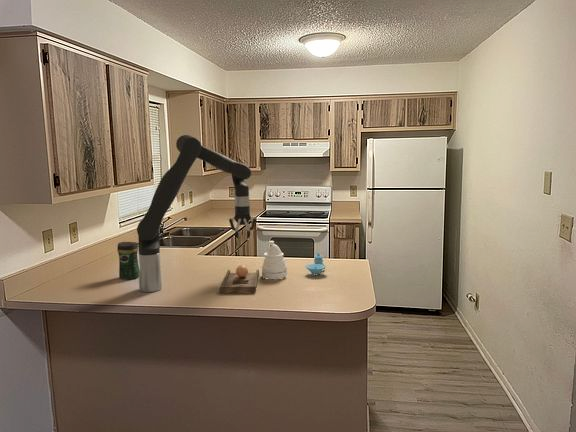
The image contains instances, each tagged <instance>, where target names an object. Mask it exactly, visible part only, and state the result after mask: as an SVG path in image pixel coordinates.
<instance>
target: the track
mask: <svg viewBox="0 0 576 432" xmlns="http://www.w3.org/2000/svg"><path fill="white" fill-rule="evenodd" d="M258 278H260V270H259V269H256V271H255V272H248V274H247V275H246V276H245V277H239V276H237V274H236V272H231V270H230V269H228V270H227V271H226V273H225V275H224V277H223V279H222V281H221V284H220V286H219V293H220V294H239V293H238V292H257V289H258V288H257V287H258V284H259V283H258V282H259V279H258ZM245 282H248V283H247V284H246V283H245ZM257 283H258V284H257ZM256 288H257V289H256Z"/></svg>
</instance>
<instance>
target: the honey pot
mask: <svg viewBox="0 0 576 432" xmlns="http://www.w3.org/2000/svg"><path fill="white" fill-rule="evenodd" d="M268 244H269V245H270V247H269V248H268V249H267V252H264V254H263V256H264V259H263V263H262V266H261V277H264V278H268V279H280V278H284V277H286V276H287V277H288V265H287V263H286V259H285V258H284V252H282V251H281V249H280V247H279V246H278V245H277V244H275V241H274V240H269V241H268ZM287 277H286V278H287ZM264 278H263V279H264Z"/></svg>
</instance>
